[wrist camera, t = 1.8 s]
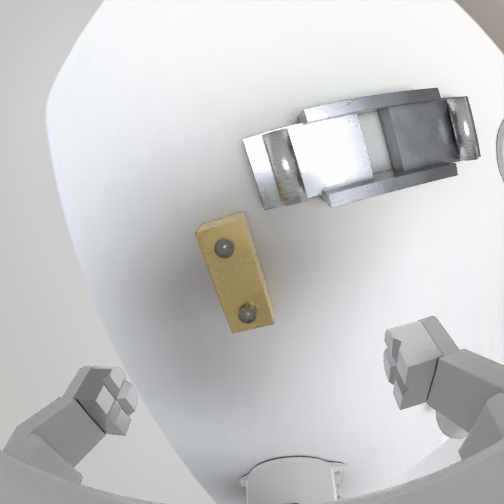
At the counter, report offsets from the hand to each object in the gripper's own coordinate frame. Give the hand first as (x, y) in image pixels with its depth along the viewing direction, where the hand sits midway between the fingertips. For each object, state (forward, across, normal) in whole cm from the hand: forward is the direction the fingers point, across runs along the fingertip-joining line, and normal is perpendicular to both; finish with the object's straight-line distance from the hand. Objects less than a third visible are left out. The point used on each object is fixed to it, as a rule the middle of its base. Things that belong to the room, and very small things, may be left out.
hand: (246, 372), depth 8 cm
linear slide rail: (+20, +11, +4) cm, 23 cm away
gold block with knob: (+20, -3, -6) cm, 21 cm away
